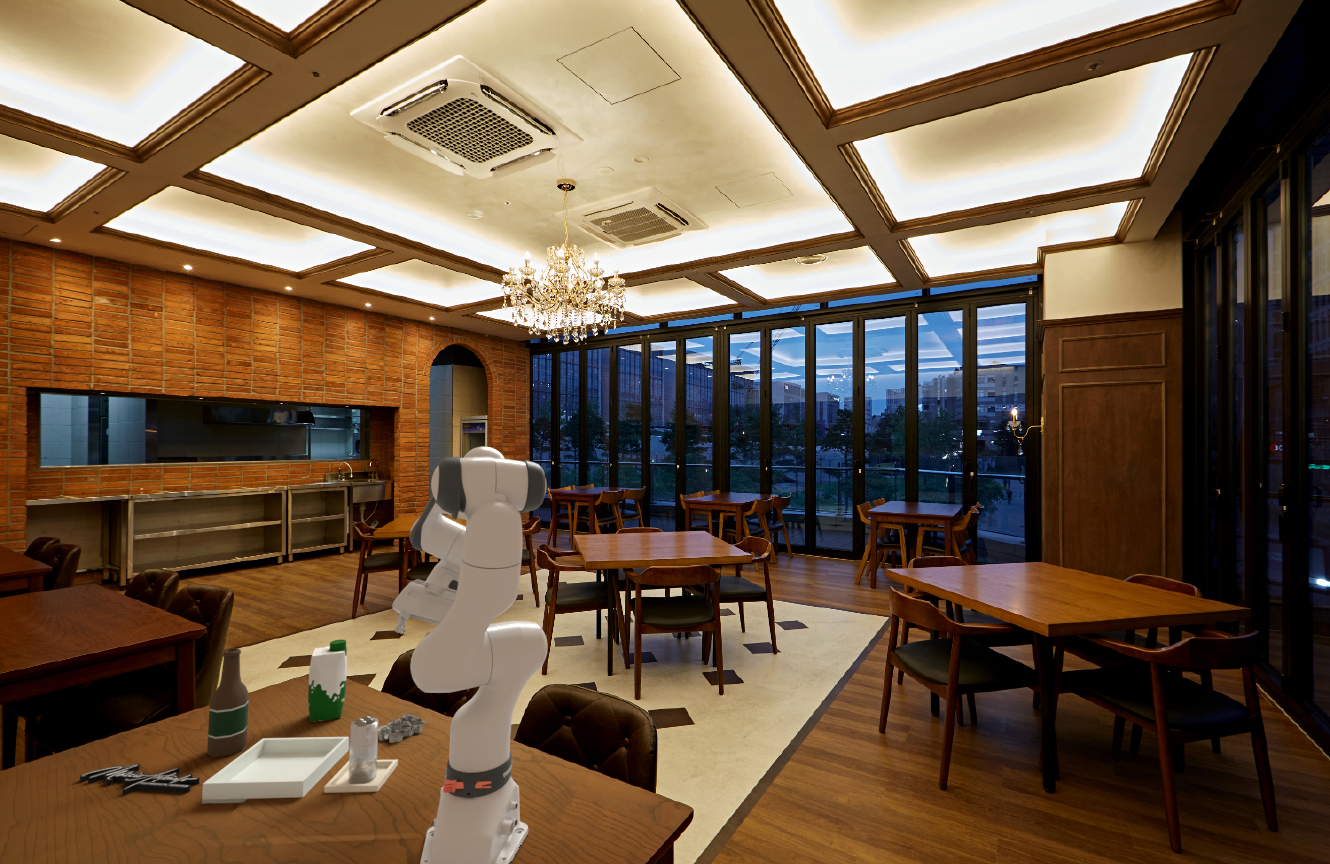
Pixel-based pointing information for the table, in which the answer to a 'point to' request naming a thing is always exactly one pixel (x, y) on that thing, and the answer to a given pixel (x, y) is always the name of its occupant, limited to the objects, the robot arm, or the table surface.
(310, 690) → the milk carton
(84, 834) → the table surface
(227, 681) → the beer bottle
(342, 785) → the tray
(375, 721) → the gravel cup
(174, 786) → the nameplate
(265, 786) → the bin
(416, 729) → the egg carton
